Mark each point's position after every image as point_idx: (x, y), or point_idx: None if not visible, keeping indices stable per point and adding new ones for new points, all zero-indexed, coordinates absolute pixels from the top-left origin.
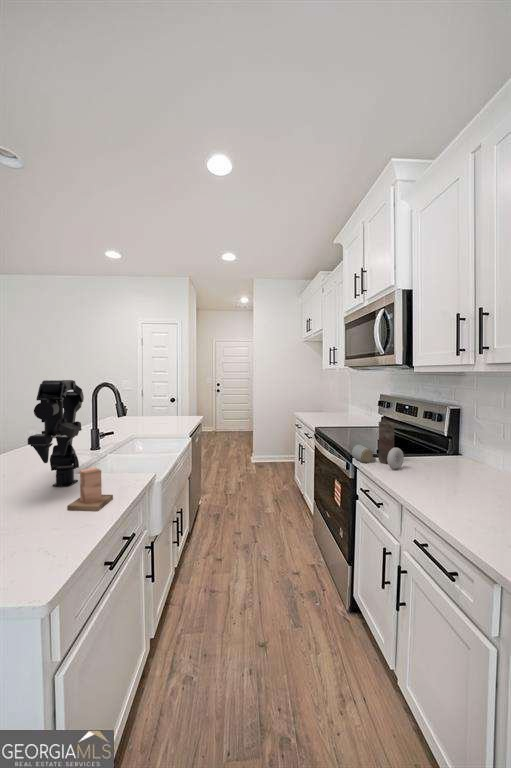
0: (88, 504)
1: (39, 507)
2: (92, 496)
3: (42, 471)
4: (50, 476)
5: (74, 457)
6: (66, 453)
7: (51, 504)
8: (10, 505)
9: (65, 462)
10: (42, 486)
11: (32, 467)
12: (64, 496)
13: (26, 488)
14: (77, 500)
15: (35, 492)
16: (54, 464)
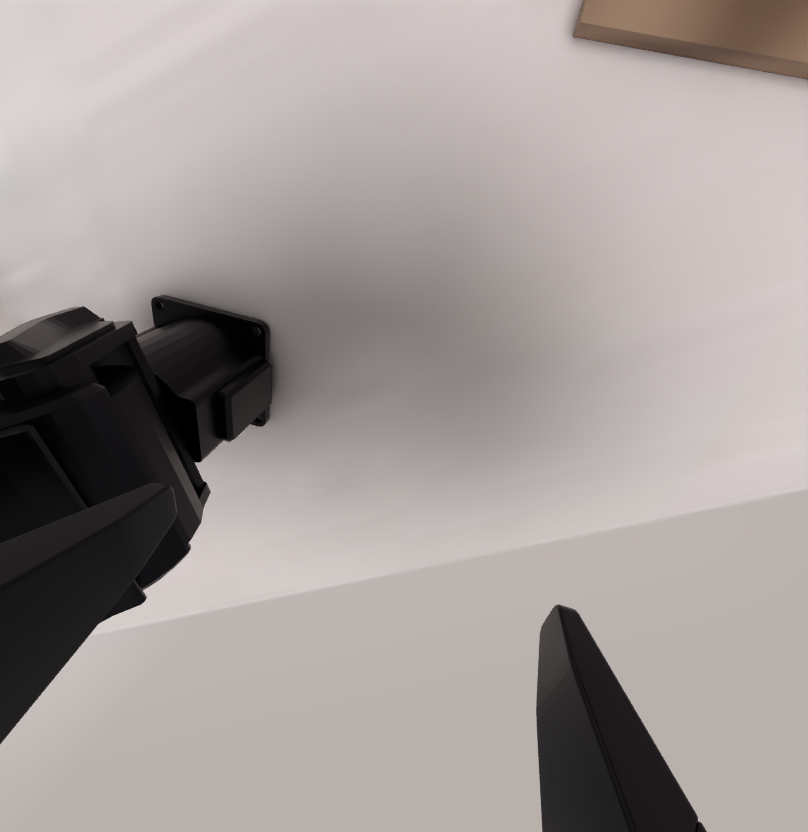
0: None
1: (660, 374)
2: None
3: None
4: None
5: (26, 369)
6: (38, 486)
7: (626, 312)
8: (551, 527)
9: (149, 429)
10: (269, 469)
11: None
12: (466, 276)
13: (300, 527)
14: (787, 23)
15: (362, 475)
16: (197, 505)
